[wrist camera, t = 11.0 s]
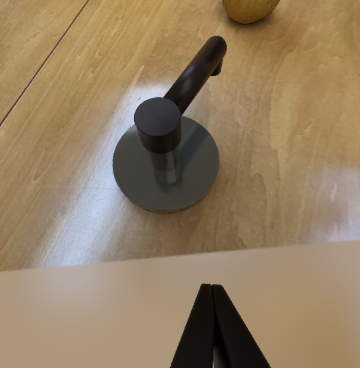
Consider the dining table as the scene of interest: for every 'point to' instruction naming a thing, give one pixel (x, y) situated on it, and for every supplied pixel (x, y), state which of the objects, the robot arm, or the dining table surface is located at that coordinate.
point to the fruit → (248, 9)
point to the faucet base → (169, 182)
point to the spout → (177, 100)
